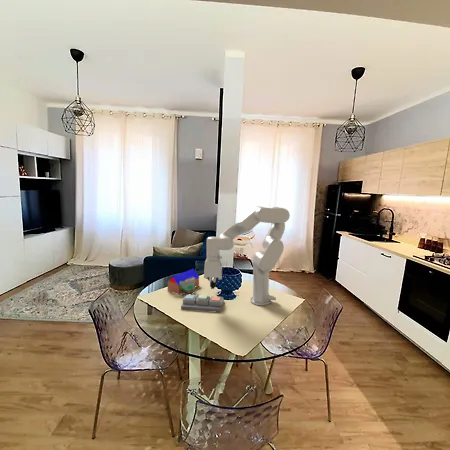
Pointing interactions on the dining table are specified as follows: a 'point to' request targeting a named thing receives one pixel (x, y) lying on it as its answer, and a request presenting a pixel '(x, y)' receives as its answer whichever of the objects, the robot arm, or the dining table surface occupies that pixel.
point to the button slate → (190, 297)
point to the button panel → (202, 304)
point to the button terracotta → (216, 299)
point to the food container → (187, 286)
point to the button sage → (203, 297)
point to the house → (175, 280)
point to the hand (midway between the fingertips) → (212, 288)
